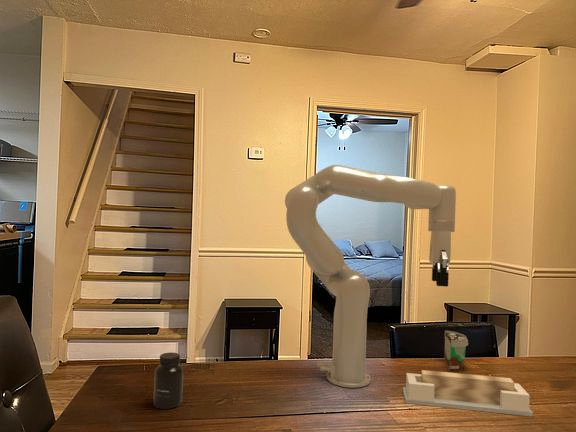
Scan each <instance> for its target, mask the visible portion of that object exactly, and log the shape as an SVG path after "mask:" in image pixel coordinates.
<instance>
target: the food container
mask: <svg viewBox="0 0 576 432" xmlns="http://www.w3.org/2000/svg"><path fill="white" fill-rule="evenodd" d="M467 346H469V339H468V338H467V336H466V335H464V334H462V333H460V332H456V331H451V330H444V363H445V364H446V367H447V369H448V370H449V372H460V370H461V371H463V370H464V367H465V357H466V356H465V355H466V350H467V349H466V348H467ZM462 369H463V370H462Z"/></svg>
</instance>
